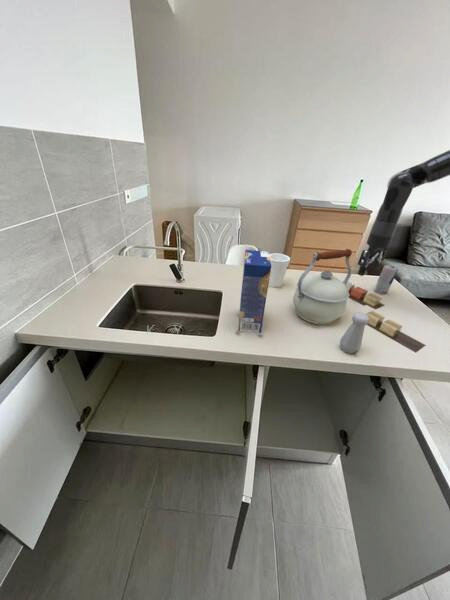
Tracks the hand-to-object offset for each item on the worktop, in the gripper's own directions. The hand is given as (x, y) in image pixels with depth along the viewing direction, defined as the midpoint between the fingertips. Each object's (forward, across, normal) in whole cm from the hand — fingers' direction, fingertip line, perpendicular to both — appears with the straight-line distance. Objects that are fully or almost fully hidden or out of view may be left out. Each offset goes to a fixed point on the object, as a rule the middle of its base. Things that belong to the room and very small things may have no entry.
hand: (366, 272), depth 98 cm
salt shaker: (+12, -33, -18) cm, 40 cm away
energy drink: (+12, +15, -2) cm, 19 cm away
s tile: (+11, 0, 0) cm, 11 cm away
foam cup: (+11, -24, +26) cm, 37 cm away
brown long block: (+12, 0, 0) cm, 12 cm away
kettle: (+12, -25, 0) cm, 28 cm away
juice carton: (+11, -52, +8) cm, 54 cm away
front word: (+12, -13, -20) cm, 27 cm away
